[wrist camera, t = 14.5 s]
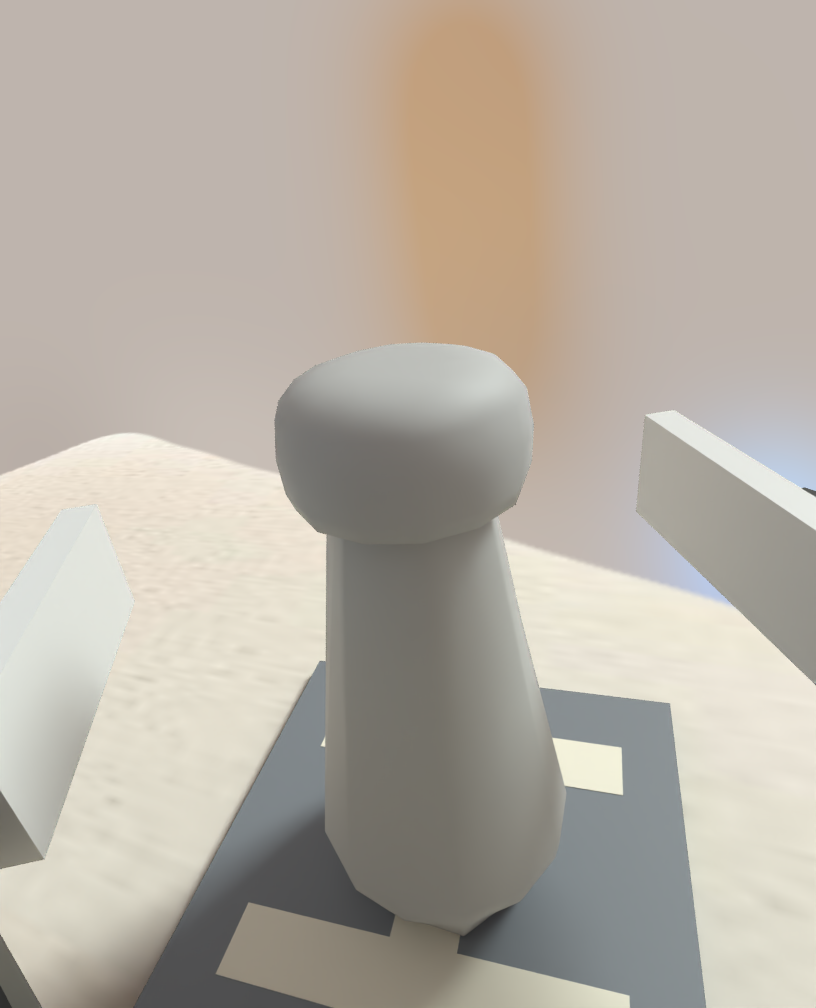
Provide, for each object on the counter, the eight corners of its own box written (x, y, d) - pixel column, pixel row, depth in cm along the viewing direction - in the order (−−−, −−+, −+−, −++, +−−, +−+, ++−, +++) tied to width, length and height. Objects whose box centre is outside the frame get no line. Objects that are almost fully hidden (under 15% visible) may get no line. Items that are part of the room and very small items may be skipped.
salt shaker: (339, 770, 19) (240, 338, 12) (527, 741, 19) (522, 303, 13) (341, 998, 14) (173, 458, 7) (597, 954, 14) (649, 395, 8)
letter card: (111, 1074, 13) (103, 1063, 13) (322, 671, 23) (319, 660, 23) (734, 1294, 10) (739, 1285, 10) (668, 715, 20) (669, 702, 20)
